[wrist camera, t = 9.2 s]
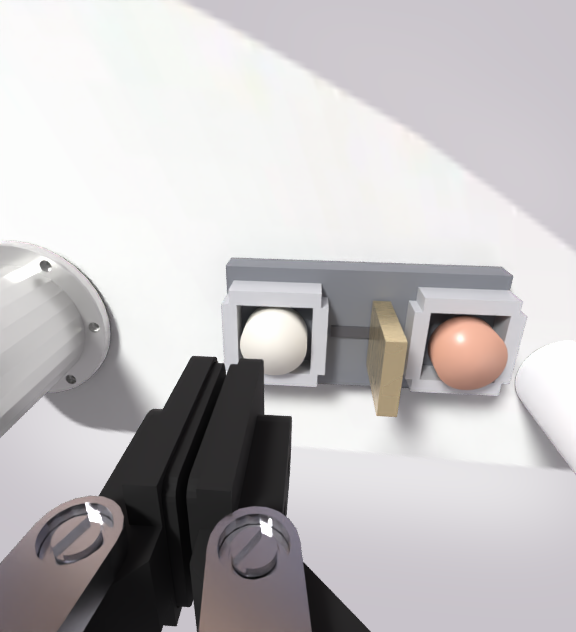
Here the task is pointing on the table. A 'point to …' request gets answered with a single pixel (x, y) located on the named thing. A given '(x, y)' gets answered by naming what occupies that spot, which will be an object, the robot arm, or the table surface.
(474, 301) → the panel
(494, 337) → the terracotta button
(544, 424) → the can
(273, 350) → the cream button
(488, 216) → the table surface
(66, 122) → the table surface
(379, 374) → the thick plank
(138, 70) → the table surface
